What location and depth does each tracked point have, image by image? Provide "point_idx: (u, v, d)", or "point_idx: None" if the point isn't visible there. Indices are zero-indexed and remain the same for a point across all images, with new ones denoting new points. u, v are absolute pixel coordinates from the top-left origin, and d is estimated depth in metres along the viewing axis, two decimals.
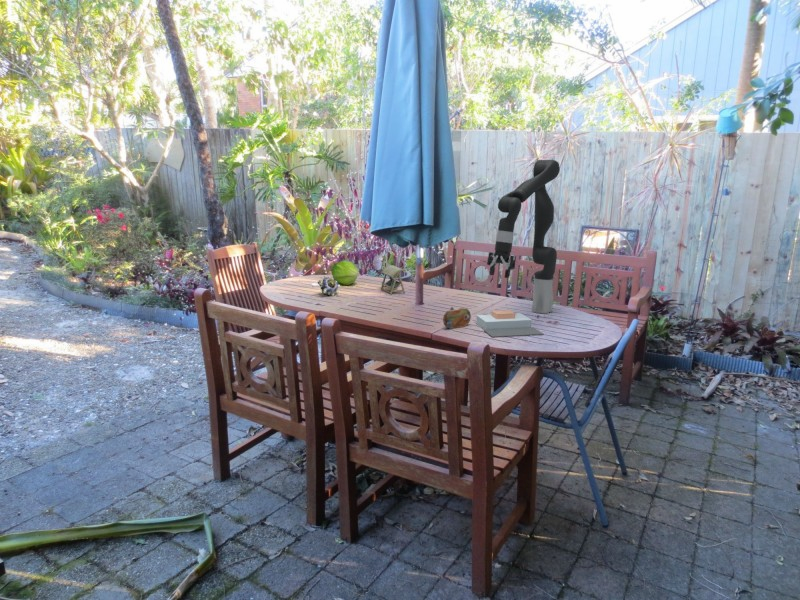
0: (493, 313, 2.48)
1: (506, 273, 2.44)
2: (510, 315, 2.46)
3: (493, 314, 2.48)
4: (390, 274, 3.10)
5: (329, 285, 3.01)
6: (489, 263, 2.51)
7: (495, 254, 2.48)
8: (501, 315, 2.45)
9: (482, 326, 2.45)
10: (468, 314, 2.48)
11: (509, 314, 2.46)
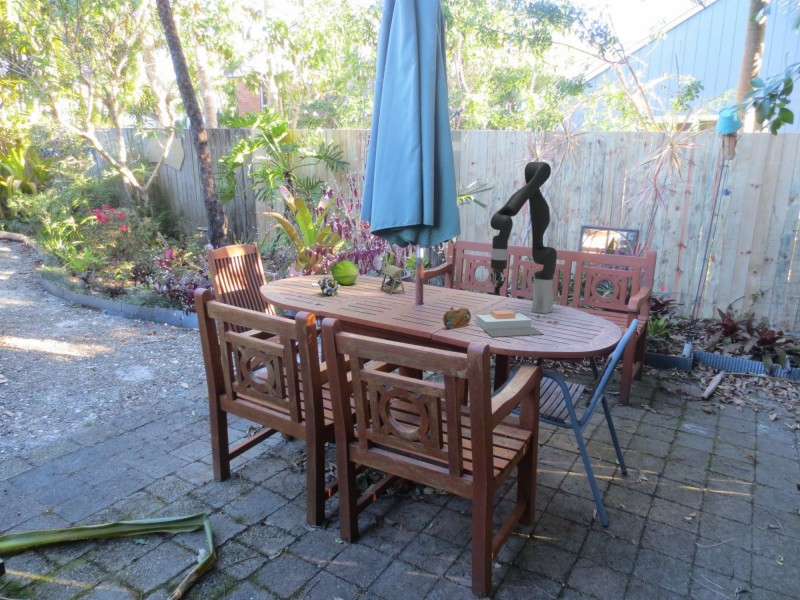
0: (493, 313, 2.48)
1: (495, 290, 2.54)
2: (510, 315, 2.46)
3: (493, 314, 2.48)
4: (390, 274, 3.10)
5: (329, 285, 3.01)
6: (493, 282, 2.56)
7: (493, 270, 2.55)
8: (501, 315, 2.45)
9: (482, 326, 2.45)
10: (468, 314, 2.48)
11: (509, 314, 2.46)
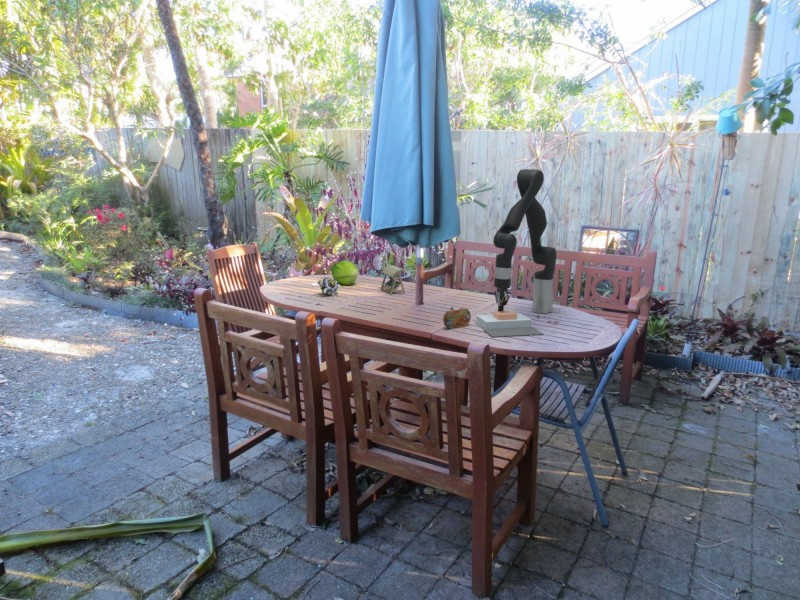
0: (495, 314, 2.47)
1: (499, 309, 2.50)
2: (512, 316, 2.44)
3: (495, 315, 2.47)
4: (390, 274, 3.10)
5: (329, 285, 3.01)
6: (497, 300, 2.52)
7: (497, 289, 2.51)
8: (503, 316, 2.43)
9: (482, 326, 2.45)
10: (468, 314, 2.48)
11: (511, 315, 2.44)
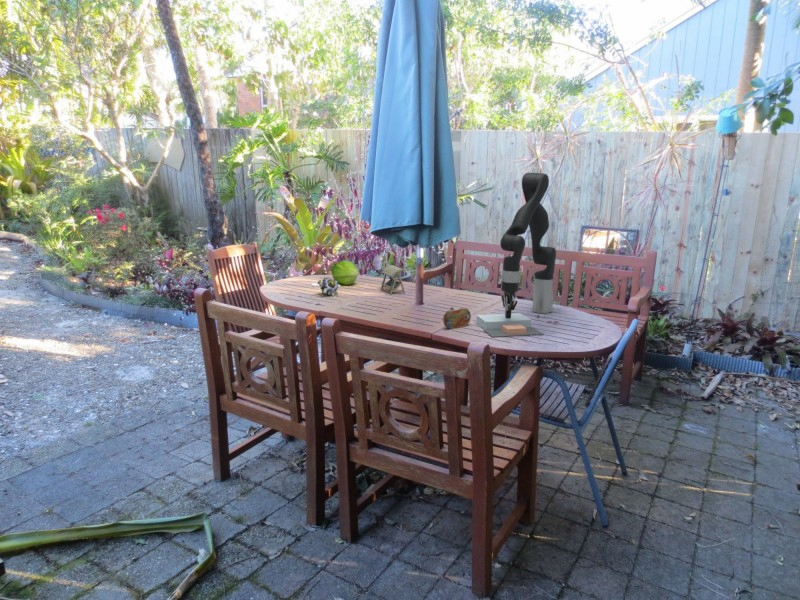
0: (505, 331, 2.35)
1: (507, 314, 2.42)
2: None
3: (505, 330, 2.35)
4: (390, 274, 3.10)
5: (329, 285, 3.01)
6: (504, 305, 2.44)
7: (504, 293, 2.43)
8: None
9: (482, 326, 2.45)
10: (468, 314, 2.48)
11: None
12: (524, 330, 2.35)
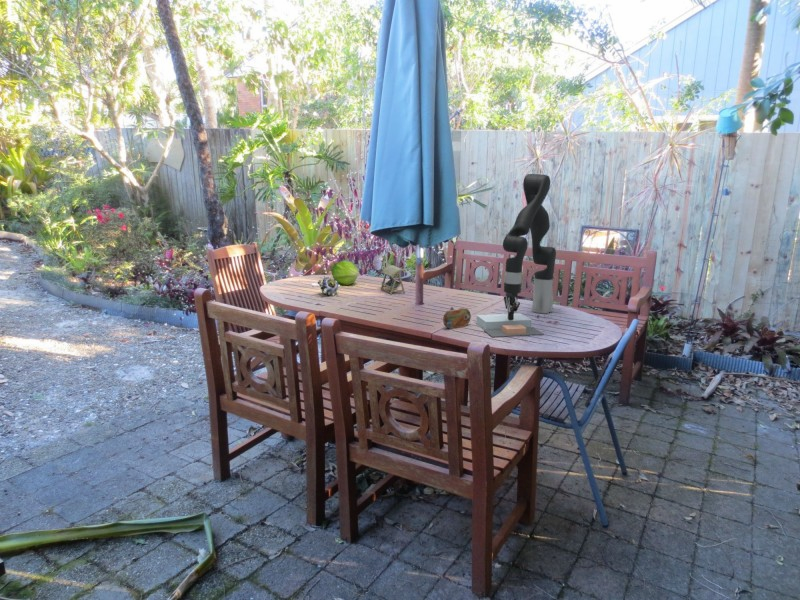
0: (505, 331, 2.35)
1: (509, 315, 2.40)
2: None
3: (505, 330, 2.35)
4: (390, 274, 3.10)
5: (329, 285, 3.01)
6: None
7: (506, 294, 2.41)
8: None
9: (482, 326, 2.45)
10: (468, 314, 2.48)
11: None
12: (524, 330, 2.35)
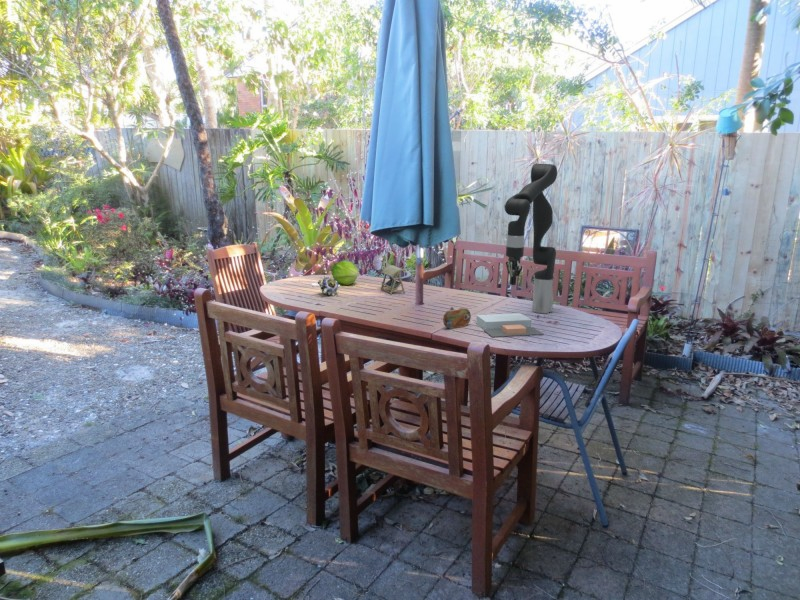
0: (505, 331, 2.35)
1: (511, 280, 2.36)
2: None
3: (505, 330, 2.35)
4: (390, 274, 3.10)
5: (329, 285, 3.01)
6: (509, 271, 2.38)
7: (509, 259, 2.38)
8: None
9: (482, 326, 2.45)
10: (468, 314, 2.48)
11: None
12: (524, 330, 2.35)
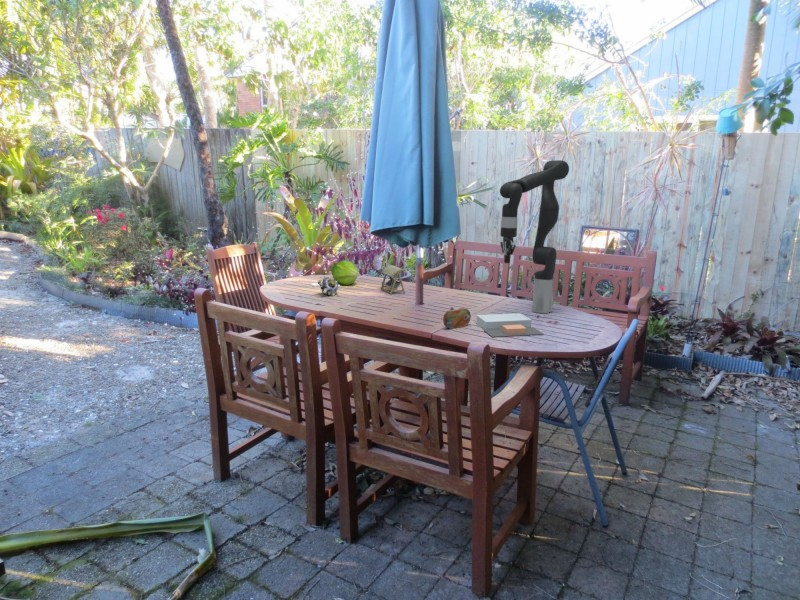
0: (505, 331, 2.35)
1: (505, 259, 2.56)
2: None
3: (505, 330, 2.35)
4: (390, 274, 3.10)
5: (329, 285, 3.01)
6: (503, 250, 2.58)
7: (503, 239, 2.58)
8: None
9: (482, 326, 2.45)
10: (468, 314, 2.48)
11: None
12: (524, 330, 2.35)
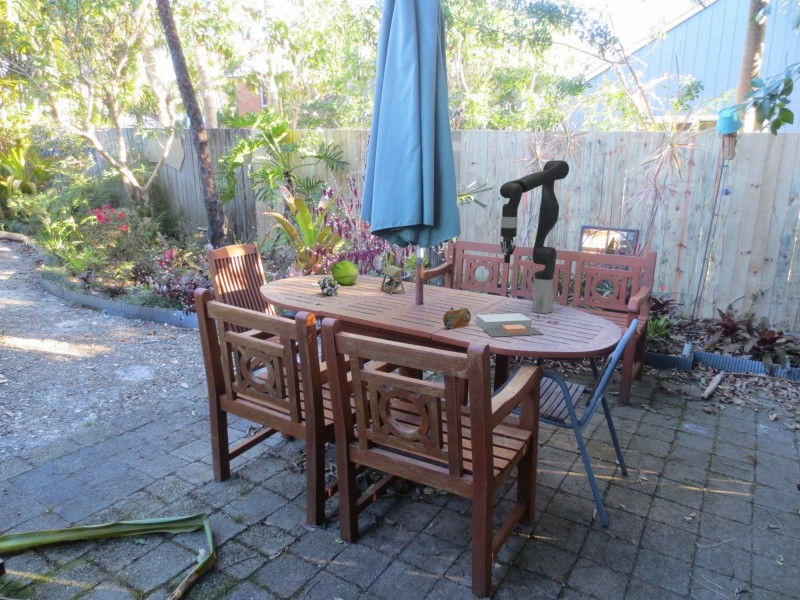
0: (505, 331, 2.35)
1: (505, 258, 2.56)
2: None
3: (505, 330, 2.35)
4: (390, 274, 3.10)
5: (329, 285, 3.01)
6: (503, 250, 2.58)
7: (503, 239, 2.58)
8: None
9: (482, 326, 2.45)
10: (468, 314, 2.48)
11: None
12: (524, 330, 2.35)
